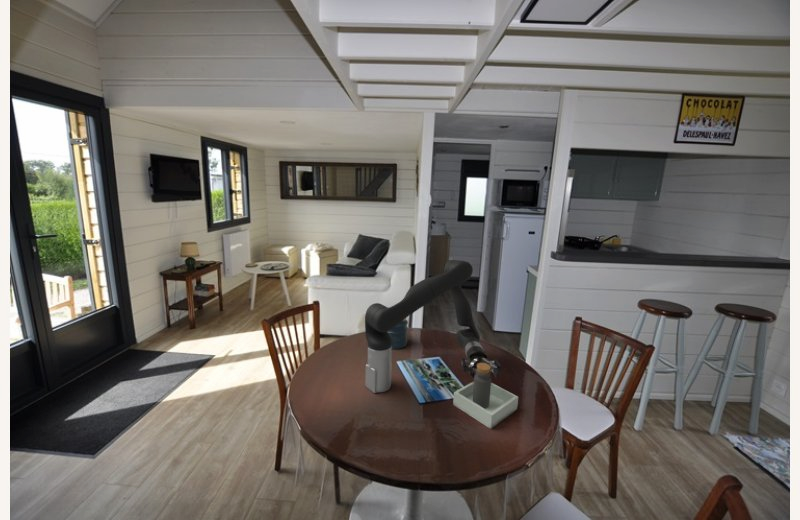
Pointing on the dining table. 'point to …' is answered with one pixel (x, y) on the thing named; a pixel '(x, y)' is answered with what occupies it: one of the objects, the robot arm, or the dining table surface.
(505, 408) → the bin
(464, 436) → the dining table surface
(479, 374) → the bottle
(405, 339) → the canister
